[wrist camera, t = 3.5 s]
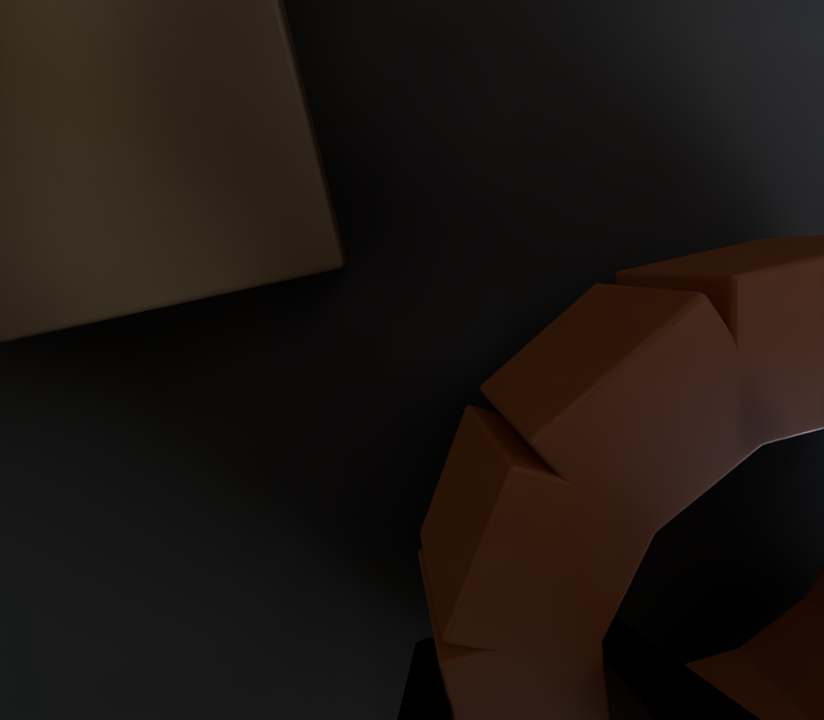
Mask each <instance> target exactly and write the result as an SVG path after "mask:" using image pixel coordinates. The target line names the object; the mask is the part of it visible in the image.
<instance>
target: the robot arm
mask: <svg viewBox="0 0 824 720" xmlns="http://www.w3.org/2000/svg"><path fill="white" fill-rule="evenodd" d="M602 649H603V663H604V671H605V680H606V688H607V697H608V705H609V714H610V720H761V719H759V718H758V717H757V716H755V715H754V714H752V713H751V712H749V711H748V710H747V709H745V708H744V707H742V706H741V705H740V704H738V703H737V702H735V701H734V700H733V699H731V698H730V697H728V696H727V695H726V694H724V693H723V692H721V691H720V690H719V689H717V688H716V687H714V686H713V685H712V684H710V683H709V682H707V681H706V680H705V679H703V678H702V677H700V676H699V675H697V674H696V673H695V672H693V671H692V670H690V669H689V668H688V667H686V666H685V665H683V664H682V663H681V662H679V661H678V660H676V659H675V658H674V657H672V656H671V655H669V654H668V653H667V652H665V651H664V650H662V649H661V648H660V647H658V646H657V645H655V644H654V643H653V642H651V641H650V640H648V639H647V638H645V637H644V636H643V635H641V634H640V633H638V632H637V631H636V630H634V629H633V628H631V627H630V626H629V625H627V624H626V623H624V622H623V621H622V620H620V619H619V618H617V617H616V616H614V618H613V620H612V622H611V624H610V626H609V628H608V630H607V632H606V634H605V636H604V639H603V641H602ZM397 720H455V717H454V713H453V709H452V705H451V701H450V700H449V699H448V698H447V695H446V691H445V687H444V683H443V679H442V675H441V671H440V667H439V662H438V657H437V652H436V646H435V641H434V637H431V638H427V639H424V640H420V641H418V642H417V643H416V646H415V649H414V653H413V657H412V661H411V665H410V669H409V674H408V678H407V682H406V686H405V690H404V694H403V698H402V703H401V707H400V711H399V715H398V719H397Z"/></svg>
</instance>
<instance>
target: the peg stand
mask: <svg viewBox="0 0 824 720" xmlns="http://www.w3.org/2000/svg"><path fill="white" fill-rule="evenodd" d="M346 266H347V259H346V255H345V251H344V247H343V243H342V239H341V235H340V231H339V227H338V223H337V219H336V215H335V210H334V206H333V202H332V198H331V194H330V190H329V186H328V182H327V178H326V174H325V170H324V165H323V161H322V157H321V153H320V149H319V145H318V141H317V137H316V133H315V129H314V125H313V121H312V116H311V112H310V108H309V104H308V100H307V96H306V92H305V88H304V84H303V80H302V76H301V72H300V67H299V63H298V59H297V55H296V51H295V47H294V43H293V39H292V35H291V31H290V27H289V23H288V18H287V14H286V10H285V6H284V2H283V0H0V343H3V342H7V341H12V340H16V339H21V338H26V337H30V336H35V335H39V334H44V333H48V332H53V331H58V330H62V329H67V328H71V327H76V326H80V325H85V324H90V323H94V322H99V321H103V320H108V319H113V318H117V317H122V316H126V315H131V314H135V313H140V312H145V311H149V310H154V309H158V308H163V307H167V306H172V305H177V304H181V303H186V302H190V301H195V300H200V299H204V298H209V297H213V296H218V295H222V294H227V293H232V292H236V291H241V290H245V289H250V288H255V287H259V286H264V285H268V284H273V283H277V282H282V281H287V280H291V279H296V278H300V277H305V276H309V275H314V274H319V273H323V272H328V271H332V270H337V269H342V268H344V267H346Z"/></svg>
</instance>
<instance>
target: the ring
mask: <svg viewBox="0 0 824 720" xmlns="http://www.w3.org/2000/svg"><path fill="white" fill-rule="evenodd" d="M615 276H616V285H611V284H599V283H598V284H595V285H594V286H593V287H591V288H590V289H589V290H588V291H587V292H586V293H585V294H583V295H582V296H581V297H580V298H579V299H578V300H577V301H576V302H574V303H573V304H572V305H571V306H570V307H569V308H568V309H567V310H565V311H564V312H563V313H562V314H561V315H560V316H559V317H558V318H556V319H555V320H554V321H553V322H552V323H551V324H550V325H549V326H547V327H546V328H545V329H544V330H543V331H542V332H541V333H540V334H538V335H537V336H536V337H535V338H534V339H533V340H532V341H531V342H529V343H528V344H527V345H526V346H525V347H524V348H523V349H522V350H520V351H519V352H518V353H517V354H516V355H515V356H514V357H513V358H511V359H510V360H509V361H508V362H507V363H506V364H505V365H503V366H502V367H501V368H500V369H499V370H498V371H497V372H496V373H494V374H493V375H492V376H491V377H490V378H489V379H488V380H487V381H485V382H484V383H483V384H482V385H481V387H480V390H481V392H482V393H483V394H484V396H485V397H486V398H487V399H488V400H489V401H490V402H491V403H492V404H493V405H494V407H495V408H496V409H497V410H498V411H499V412H500V413H497V412H494V411H490V410H486V409H483V408H479V407H476V406H472V405H467V407H466V408H465V411H464V413H463V416H462V419H461V422H460V424H459V427H458V430H457V433H456V435H455V438H454V441H453V444H452V446H451V449H450V452H449V455H448V457H447V460H446V463H445V466H444V468H443V471H442V474H441V477H440V479H439V482H438V485H437V488H436V490H435V493H434V496H433V499H432V501H431V504H430V507H429V510H428V512H427V515H426V518H425V521H424V523H423V526H422V529H421V532H420V537H421V541H422V546H423V549H422V550H419V552H418V556H419V561H420V566H421V572H422V577H423V582H424V588H425V593H426V598H427V604H428V609H429V614H430V620H431V625H432V630H433V636H434V641H435V646H436V652H437V657H438V662H439V667H440V671H441V675H442V679H443V683H444V687H445V691H446V695H447V698H448V699H449V700H450V701H451V705H452V709H453V713H454V717H455V720H610V714H609V705H608V697H607V688H606V680H605V671H604V663H603V649H602V641H603V639H604V636H605V634H606V632H607V630H608V628H609V626H610V624H611V622H612V620H613V618H614V616H615V614H616V612H617V610H618V608H619V606H620V604H621V602H622V600H623V598H624V596H625V594H626V592H627V589H628V587H629V585H630V583H631V581H632V579H633V577H634V575H635V573H636V571H637V569H638V567H639V565H640V563H641V561H642V559H643V557H644V555H645V553H646V551H647V549H648V547H649V544H650V542H651V540H652V538H653V536H654V534H655V533H656V532H657V531H658V530H660V529H661V528H662V527H663V526H664V525H666V524H667V523H668V522H669V521H671V520H672V519H673V518H674V517H675V516H677V515H678V514H679V513H680V512H681V511H683V510H684V509H685V508H686V507H688V506H689V505H690V504H691V503H692V502H694V501H695V500H696V499H697V498H699V497H700V496H701V495H702V494H703V493H705V492H706V491H707V490H708V489H710V488H711V487H712V486H713V485H714V484H716V483H717V482H718V481H719V480H721V479H722V478H723V477H724V476H725V475H727V474H728V473H729V472H730V471H732V470H733V469H734V468H735V467H736V466H738V465H739V464H740V463H741V462H743V461H744V460H745V459H746V458H747V457H749V456H750V455H751V454H752V453H753V452H755V451H756V450H757V449H758V448H760V447H761V446H762V445H764V444H768V443H772V442H776V441H779V440H783V439H787V438H791V437H795V436H798V435H802V434H806V433H810V432H814V431H818V430H821V429H824V235H817V236H801V237H785V238H769V239H758V240H753V241H749V242H744V243H740V244H736V245H731V246H727V247H722V248H718V249H714V250H709V251H705V252H701V253H696V254H692V255H687V256H683V257H679V258H674V259H670V260H665V261H661V262H657V263H652V264H648V265H644V266H639V267H635V268H630V269H626V270H622V271H619V272H617V273H616V275H615ZM683 665H685V666H686V667H688V668H689V669H690V670H692V671H693V672H695V673H696V674H697V675H699V676H700V677H702V678H703V679H705V680H706V681H707V682H709V683H710V684H712V685H713V686H714V687H716V688H717V689H719V690H720V691H721V692H723V693H724V694H726V695H727V696H728V697H730V698H731V699H733V700H734V701H735V702H737V703H738V704H740V705H741V706H742V707H744V708H745V709H747V710H748V711H749V712H751V713H752V714H754V715H755V716H757V717H758V718H759V719H761V720H824V566H823V567H822V569H821V571H820V572H819V574H818V576H817V578H816V579H815V581H814V583H813V584H812V586H811V588H810V589H809V591H808V593H807V595H806V596H805V597H804V598H803V599H802V600H800V601H799V602H798V603H796V604H795V605H794V606H793V607H791V608H790V609H789V610H787V611H786V612H785V613H784V614H782V615H781V616H780V617H778V618H777V619H776V620H775V621H773V622H772V623H771V624H769V625H768V626H767V627H766V628H764V629H763V630H762V631H760V632H759V633H758V634H757V635H755V636H754V637H753V638H751V639H750V640H749V641H748V642H746V643H745V644H744V645H742V646H741V647H740V648H738V649H734V650H731V651H727V652H724V653H721V654H717V655H714V656H710V657H707V658H704V659H700V660H697V661H693V662H690V663H687V664H683Z"/></svg>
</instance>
